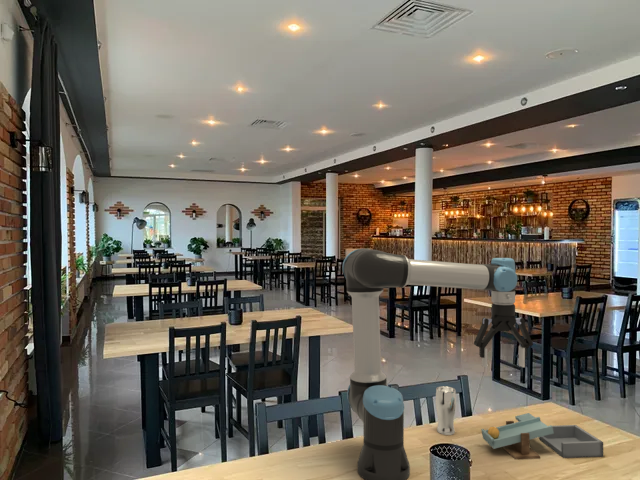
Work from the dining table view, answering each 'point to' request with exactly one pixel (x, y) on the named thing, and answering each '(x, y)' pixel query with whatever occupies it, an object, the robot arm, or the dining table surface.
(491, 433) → the ball
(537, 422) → the lever
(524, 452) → the fulcrum
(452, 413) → the beer glass
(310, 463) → the dining table surface
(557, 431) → the grey shallow open box
